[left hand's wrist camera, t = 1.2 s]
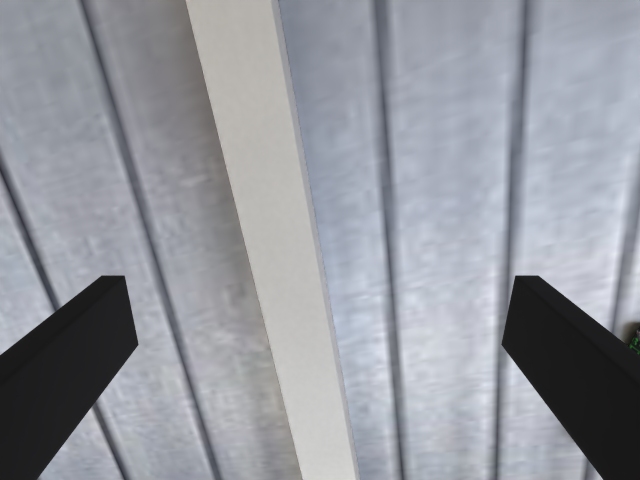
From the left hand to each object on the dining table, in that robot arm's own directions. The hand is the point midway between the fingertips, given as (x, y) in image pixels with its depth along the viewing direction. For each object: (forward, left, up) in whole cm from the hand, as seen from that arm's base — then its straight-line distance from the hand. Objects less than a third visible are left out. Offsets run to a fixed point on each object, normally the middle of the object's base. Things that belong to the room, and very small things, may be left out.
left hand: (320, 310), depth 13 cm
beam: (+14, +7, -20) cm, 25 cm away
